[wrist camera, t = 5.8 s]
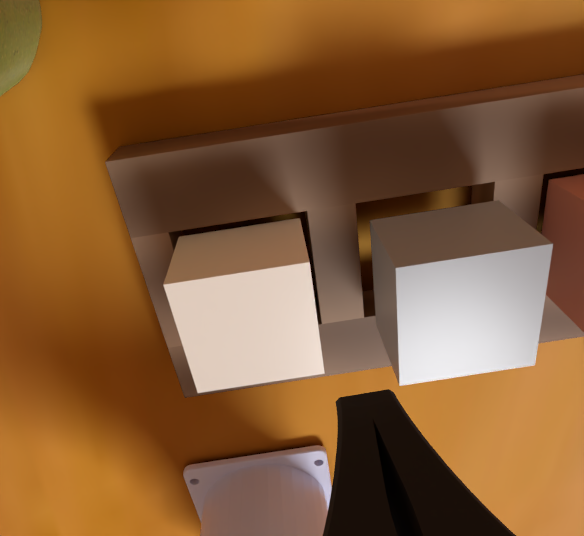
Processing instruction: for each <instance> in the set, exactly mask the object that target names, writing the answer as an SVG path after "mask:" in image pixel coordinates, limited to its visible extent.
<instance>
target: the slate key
mask: <svg viewBox="0 0 584 536" xmlns="http://www.w3.org/2000/svg"><path fill="white" fill-rule="evenodd" d="M370 232H371V248H372V265H373V281H374V298H375V314H376V326H377V328H378V331H379V333H380V336H381V339H382V341H383V344H384V346H385V349H386V352H387V354H388V357H389V360H390V362H391V365H392V367H393V370H394V373H395V375H396V378H397V380H398V383H399V386H402V385H408V384H415V383H422V382H428V381H435V380H441V379H448V378H454V377H461V376H467V375H474V374H480V373H487V372H493V371H500V370H506V369H513V368H519V367H526V366H532V365H535V362H536V355H537V348H538V342H539V335H540V328H541V322H542V315H543V308H544V302H545V295H546V289H547V282H548V275H549V269H550V262H551V255H552V249H553V243H552V242H550V241H549V240H548V239H547V238H545V237H544V236H543V235H542V234H540V233H539V232H538V231H537V230H535V229H534V228H533V227H532V226H530V225H529V224H528V223H527V222H525V221H524V220H523V219H522V218H520V217H519V216H518V215H517V214H515V213H514V212H513V211H512V210H510V209H509V208H508V207H507V206H505V205H504V204H503V203H501V202H500V201H499V200H497V201H490V202H484V203H477V204H471V205H465V206H458V207H452V208H445V209H439V210H432V211H426V212H419V213H413V214H407V215H400V216H394V217H387V218H381V219H374V220H370Z"/></svg>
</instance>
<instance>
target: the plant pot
mask: <svg viewBox="0 0 584 536" xmlns="http://www.w3.org/2000/svg"><path fill="white" fill-rule="evenodd" d="M41 29H42V15H41V7H40V2H39V0H0V96H1V95H3V94H4V93H5V92H7V91H8V90H9V89H11V88H12V87H13V86H15V85H16V84H17V83H19V82H20V81H21V80H22V79H23V77H24V76H25V75H26V74H27V73H28V71H29V69H30V67H31V65H32V62H33V60H34V57H35V55H36V51H37V47H38V43H39V39H40V33H41Z"/></svg>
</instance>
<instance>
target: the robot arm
mask: <svg viewBox="0 0 584 536" xmlns="http://www.w3.org/2000/svg"><path fill="white" fill-rule="evenodd" d="M336 407H337V415H338V438H337V452H336V462H335V471H334V479H333V485H332V487H331V480H330V474H329V467H328V460H327V453H326V449H325V448H324V447H323V446H320V445H315V446H309V447H302V448H296V449H289V450H283V451H276V452H270V453H263V454H256V455H250V456H243V457H237V458H230V459H224V460H217V461H211V462H204V463H198V464H191V465H188V466H186V467H185V469H184V473H183V477H184V479H185V482H186V485H187V487H188V490H189V492H190V495H191V498H192V500H193V503H194V506H195V508H196V511H197V513H198V516H199V519H200V521H201V534H200V536H516V535H515V534H513V533H512V532H511V531H510V530H509V529H508V528H507V527H506V526H505V525H504V524H503V523H502V522H501V521H500V520H499V519H498V518H497V517H495V516H494V515H493V514H492V513H491V512H490V511H489V510H488V509H487V508H486V507H485V506H484V505H483V504H482V503H481V502H480V501H479V499H478V498H477V497H476V496H475V495H474V494H473V493H472V492H471V491H470V490H469V489H468V488H467V487H466V486H465V485H464V484H463V482H462V481H461V480H460V479H459V478H458V477H457V476H456V475H455V474H454V472H453V471H452V470H451V469H450V468H449V467H448V466H447V464H446V463H445V462H444V461H443V460H442V458H441V457H440V456H439V455H438V454H437V452H436V451H435V450H434V449H433V448H432V446H431V445H430V444H429V443H428V441H427V440H426V439H425V438H424V436H423V435H422V434H421V432H420V431H419V430H418V428H417V427H416V426H415V424H414V423H413V422H412V420H411V419H410V417H409V416H408V415H407V413H406V412H405V410H404V409H403V407H402V406H401V404H400V402H399V401H398V399H397V398H396V396H395V394H394V392H392V391H391V390H389V389H388V390H382V391H376V392H370V393H364V394H358V395H352V396H346V397H340V398H339V399H338V400H337V401H336Z"/></svg>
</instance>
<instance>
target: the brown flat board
mask: <svg viewBox="0 0 584 536" xmlns="http://www.w3.org/2000/svg"><path fill="white" fill-rule="evenodd" d="M105 163H106V166H107V169H108V172H109V175H110V178H111V181H112V184H113V187H114V190H115V193H116V196H117V199H118V202H119V205H120V208H121V211H122V214H123V217H124V220H125V223H126V226H127V229H128V231H129V234H130V237H131V240H132V243H133V246H134V249H135V252H136V255H137V258H138V261H139V264H140V267H141V270H142V273H143V276H144V279H145V282H146V285H147V288H148V291H149V294H150V297H151V300H152V302H153V305H154V308H155V311H156V314H157V317H158V320H159V323H160V326H161V329H162V332H163V335H164V338H165V341H166V344H167V347H168V350H169V353H170V356H171V359H172V362H173V365H174V368H175V371H176V374H177V376H178V379H179V382H180V385H181V388H182V391H183V394H184V397H185V398H186V397H193V396H199V395H206V394H212V393H219V392H225V391H232V390H238V389H245V388H251V387H258V386H264V385H271V384H277V383H284V382H290V381H297V380H303V379H310V378H316V377H323V376H329V375H336V374H342V373H349V372H355V371H362V370H368V369H375V368H381V367H388V366H392V365H391V362H390V360H389V357H388V354H387V352H386V349H385V346H384V344H383V341H382V339H381V336H380V333H379V331H378V328H377V326H376V314H375V298H374V290H368V291H362V283H361V270H360V256H359V243H358V230H357V217H356V203H361V202H367V201H374V200H380V199H386V198H393V197H399V196H406V195H412V194H419V193H425V192H432V191H438V190H444V189H451V188H457V187H464V186H470V185H472V197H471V204H477V203H484V202H490V201H497V200H499V201H500V202H501V203H503V204H504V205H505V206H507V207H508V208H509V209H510V210H512V211H513V212H514V213H515V214H517V215H518V216H519V217H520V218H522V219H523V220H524V221H525V222H527V223H528V224H529V225H530V226H532V227H533V228H534V229H535V230H536V228H537V220H538V213H539V205H540V197H541V189H542V182H543V174H547V173H554V172H560V171H567V170H573V169H580V168H584V74H582V75H575V76H569V77H563V78H556V79H550V80H543V81H537V82H530V83H524V84H518V85H511V86H505V87H498V88H492V89H486V90H479V91H473V92H466V93H460V94H454V95H447V96H441V97H434V98H428V99H422V100H415V101H409V102H402V103H396V104H390V105H383V106H377V107H370V108H364V109H358V110H351V111H345V112H338V113H332V114H326V115H319V116H313V117H306V118H300V119H293V120H287V121H281V122H274V123H268V124H261V125H255V126H249V127H242V128H236V129H229V130H223V131H217V132H210V133H204V134H197V135H191V136H185V137H178V138H172V139H165V140H159V141H153V142H146V143H140V144H133V145H127V146H121V147H119V148H118V149H117V150H116V151H115V152H114V153H113V154H112V155H111V156H110V157H109V158H108V159H107V160H106V162H105ZM303 211H305V216H306V223H307V231H308V238H309V246H310V253H311V261H312V268H313V276H314V283H315V291H316V299H315V306H316V313H317V321H318V328H319V335H320V343H321V350H322V358H323V365H324V372H325V374H319V375H313V376H306V377H300V378H293V379H287V380H280V381H274V382H267V383H261V384H254V385H248V386H241V387H235V388H228V389H222V390H215V391H209V392H202V393H198V392H197V389H196V386H195V383H194V380H193V377H192V374H191V370H190V367H189V364H188V361H187V358H186V355H185V351H184V348H183V345H182V342H181V339H180V336H179V333H178V329H177V326H176V323H175V320H174V317H173V314H172V311H171V307H170V304H169V301H168V298H167V295H166V292H165V288H164V285H163V284H164V281H165V278H166V275H167V272H168V269H169V266H170V262H171V259H172V256H173V253H174V250H175V247H176V244H177V241H178V238H179V237H180V236H182V232H181V230H187V229H193V228H200V227H206V226H213V225H219V224H225V223H232V222H238V221H245V220H251V219H258V218H264V217H270V216H277V215H283V214H290V213H296V212H303ZM583 336H584V332H583V331H582V330H581V329H580V328H579V327H578V326H577V325H576V324H575V323H574V322H573V321H572V320H571V319H570V318H569V317H568V316H567V315H566V314H565V313H564V312H563V311H562V310H561V309H560V308H559V307H558V306H557V305H556V304H555V303H554V302H553V301H552V300H551V299H550V298H549V297H548V296H547V295H545V302H544V308H543V315H542V322H541V328H540V335H539V342H538V343H544V342H551V341H557V340H564V339H570V338H577V337H583Z"/></svg>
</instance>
